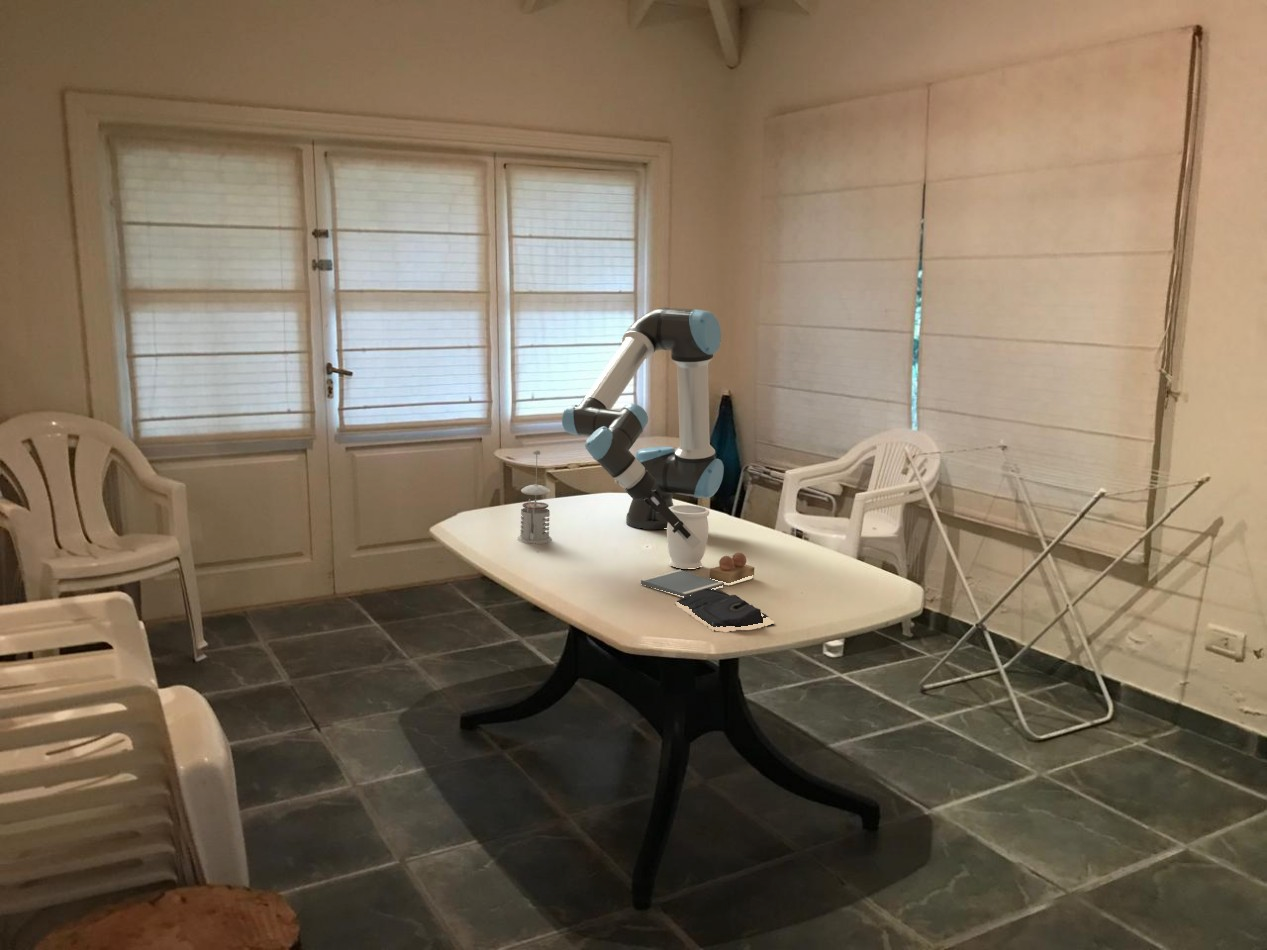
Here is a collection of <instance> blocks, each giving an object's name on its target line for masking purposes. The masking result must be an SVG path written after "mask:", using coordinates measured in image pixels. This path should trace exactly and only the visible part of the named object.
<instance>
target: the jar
mask: <svg viewBox="0 0 1267 950" xmlns="http://www.w3.org/2000/svg"><path fill="white" fill-rule="evenodd" d="M669 509H670V510H671V511H672V512H673V513H674V514H675V515H676V516H677V518H678V519H679V520H680V521H682V522H683V523H684V524H685V525H686V526H687V527H688V528H689V529H690V530H691V532H692V533H693V534H694V535H695V536H696V537H697V538H698V539H699V540H700V541H701V542H700V543H699V544H698V545H697V546H696V547H695V548H694V549H692V547H691V546H690V545H689V544H688V543H687V542H686V541H685V540H684V539H683V538H682V537H681V536H680V535H679V534H678V533H677V532H675V533H674V532H673V531H672V530H673V529H674V528H673V527H672V526H671V525H670V523H669V522H668V524H667V529H666V541H667V549H668V554H669V557H670V558H671V559H670V561H669V563H668V565H669V566H670V567H671V566H673V567H676V568H682V569H688V568H697V567H700V566H702V567H703V563H702V560H703V558H704V555H705V552H706V548H707V544H708V540H709V539H708V538H709V519H708V516H709V515H710V510H709V509H708V508H706V507H703V506H699V505H689V504H681V505H679V504H677V505H674V506H671V507H669ZM677 523H678V522H677ZM677 523H676V524H677ZM676 524H675V525H676ZM673 567H672V568H673ZM676 568H675V569H676Z"/></svg>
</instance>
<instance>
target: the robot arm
mask: <svg viewBox="0 0 1267 950" xmlns="http://www.w3.org/2000/svg"><path fill="white" fill-rule="evenodd" d="M720 324H721V323H720V322H719V320H718V318H717V316H716V315H715V314H714V313H713V312H711V311H709V310H701V309H698V308H697V309H696V308H677V307H676V308H675V307H674V308H673V307H672V308H671V307H659V308H655V309H653V310H650V311H648V312H646V313H645V314H643V315H642V316H641V317H639V318H638V319H636V320H635V321H634V322H633V323H632V324H631V325H630V326H629V327H628V328H627V330H626V331H625V333H624V334H623V335H622V338H621V339H622V343H621V345H620V346H619V348H618V349H617V350H616V352H615V353H614V355H613V356H612V358H611V359H610V361H609V362H608V363H607V365H606V366H605V368H604V369H603V370H602V372H601V374H600V375H599V377H598V378H597V379H596V381H595V382H594V383H593V385H592V386H591V388H590V389H589V390H588V392H587V393H586V395H584V396H585V397H584V398H583V400H582V401H581V402H580V404H579V405H578V404H570V405H569V406H566V408H564V410H563V411H562V414H561V415H562V416H561V425H562V427H563V429H564V431H565V432H566V433H568V434H571V435H576V436H580V437H582V436H583V437H587V439H586V441H585V443H584V447H585V449H586V451H587V452H588V454H590V456H592V459H593V460H595V461H596V462H597V463H598V464H599V465H600V466H601V467H602V468H603V469H604V470H605V471H606V472H607V474H609V475H610V477H612V478H613V479H614V481H613V483H614V484H615V485H617V484H618V485H620V487H621V488H622V489H625V492H626V493H627V495H629V496H630V497H631V498H632V500H631V502H630V506H629V509H628V512H627V514H626V516H625V517H626V518H625V523H626V525H628V526H629V527H632V528H635V527H636V528H635V529H640V528H643V529H642V530H649V529H664V528H667V524H668V522H669V523H670V525H671V526H672V527H673V528H674V529H673V530H672V531H673V532H674V533H675V532H677V533H678V534H679V535H680V536H681V537H682V538H683V539H684V540H685V541H686V542H687V543H688V544H689V545H690V546H691V547H692V549H694V548H695V547H696V546H697V545H698V544H699V543H700V542H701V541H700V540H699V539H698V538H697V537H696V536H695V535H694V534H693V533H692V532H691V530H690V529H689V528H688V527H687V526H686V525H685V524H684V523H683V522H682V521H680V520H679V519H678V518H677V516H676V515H675V514H674V513H673V512H672V511H671V510H670V509H669V507H671V506H675V505H674V503H673V502H674V501H673V494H675V495H680V496H681V495H682V496H686V497H687V496H688V497H694V498H695V499H698V498H701V499H703V498H704V499H710V498H712V497H713V496H714V495H716V493H717V492H718V490H719V488H720V486H721V484H722V481H723V478H724V469H725V467H724V463H723V461H722V460H721V459H719V458H716V450H715V448H714V447H712V445H711V444H710V443H711V439H710V433H711V432H710V408H709V407H710V404H709V403H710V399H709V391H710V390H709V363H710V362H711V361H712V360H713V359H714V354H716V353H717V352H718V351H719V349H720V347H721V342H722V330H721V325H720ZM657 351H670V357H671V358H670V359H671V361H672V362H673V363H674V364H675V365H676V371H677V372H676V373H677V377H676V378H677V400H678V401H677V403H678V404H677V405H678V430H679V431H678V432H679V436H678V437H679V446H678V447H677V448H675V447H673V446H652V447H643V448H640V449H638V450H637V451H636V452H635V455H634V454H633V453H632V452H631V451H630V450H631V448H632V446H633V445H634V444H635V442H636V441H637V440H638V439H639V437H640V435H641V434H643V432H644V429H645V427H646V426H647V424H648V423H649V422H648V421H649V416H648V413H647V412H646V410H645V408H643V407H642V406H641V405H639V404H636V403H632V402H631V403H627V404H625V405H624V406H623V407H622V408H621V410H616V409H613V407H614V405H615V404H616V403H617V402H618V399H619V398H620V397H621V396H622V394H623V392H624V391H625V389H626V388H627V387H628V385H629V383H630V382H631V380H632V379H633V378H634V376H635V374H636V373H637V372H638V370H639V369H640V367H641V365H643V364H644V362H645V360H647V359H649V358H651V357H652V356H653V355H654V353H655V352H657ZM677 522H678V523H677ZM676 523H677V524H676ZM675 524H676V525H675ZM664 530H665V529H664Z"/></svg>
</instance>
